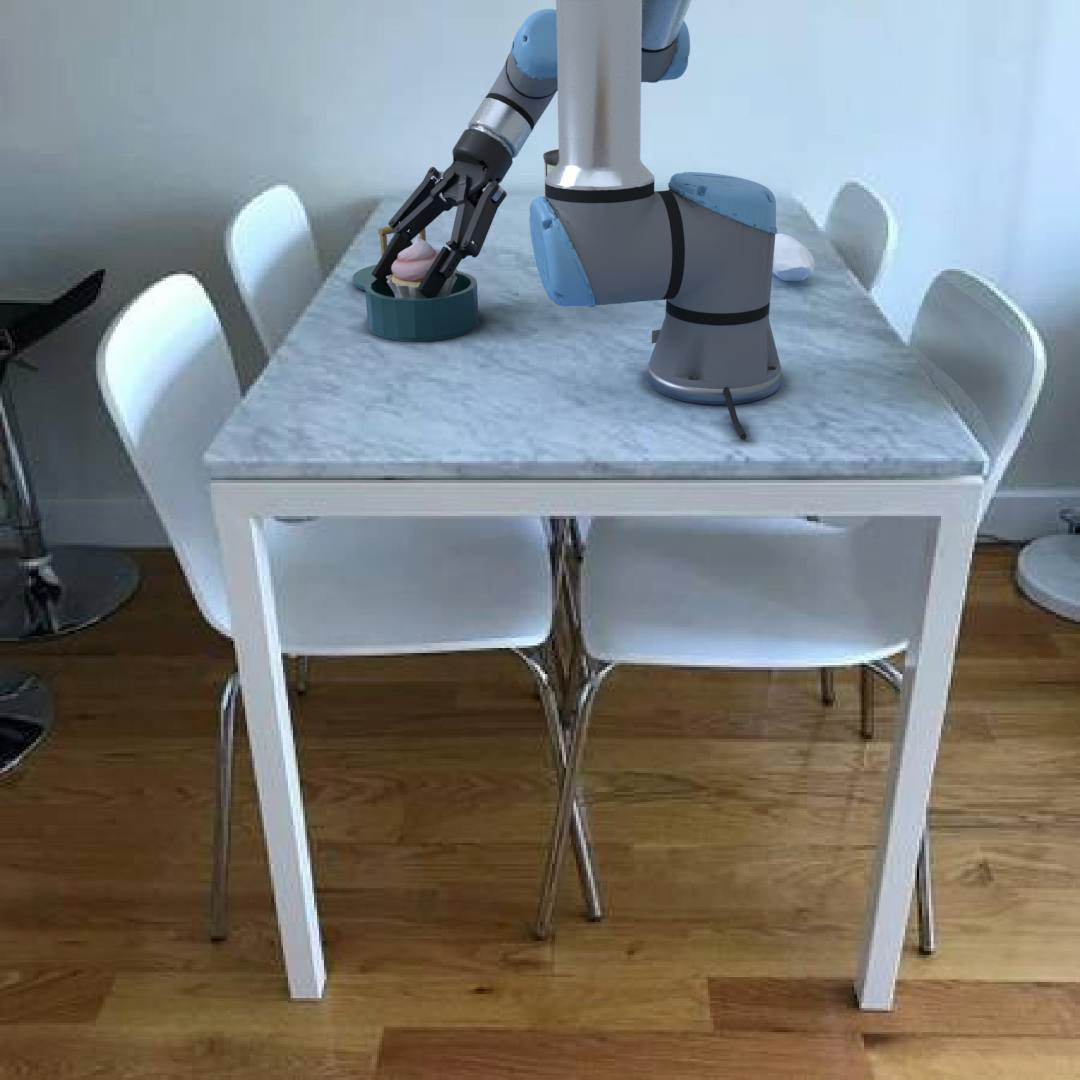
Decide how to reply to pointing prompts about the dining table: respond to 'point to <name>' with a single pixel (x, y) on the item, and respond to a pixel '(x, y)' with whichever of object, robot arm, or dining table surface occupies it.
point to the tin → (422, 312)
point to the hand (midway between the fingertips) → (401, 287)
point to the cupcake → (415, 271)
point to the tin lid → (366, 273)
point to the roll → (791, 259)
